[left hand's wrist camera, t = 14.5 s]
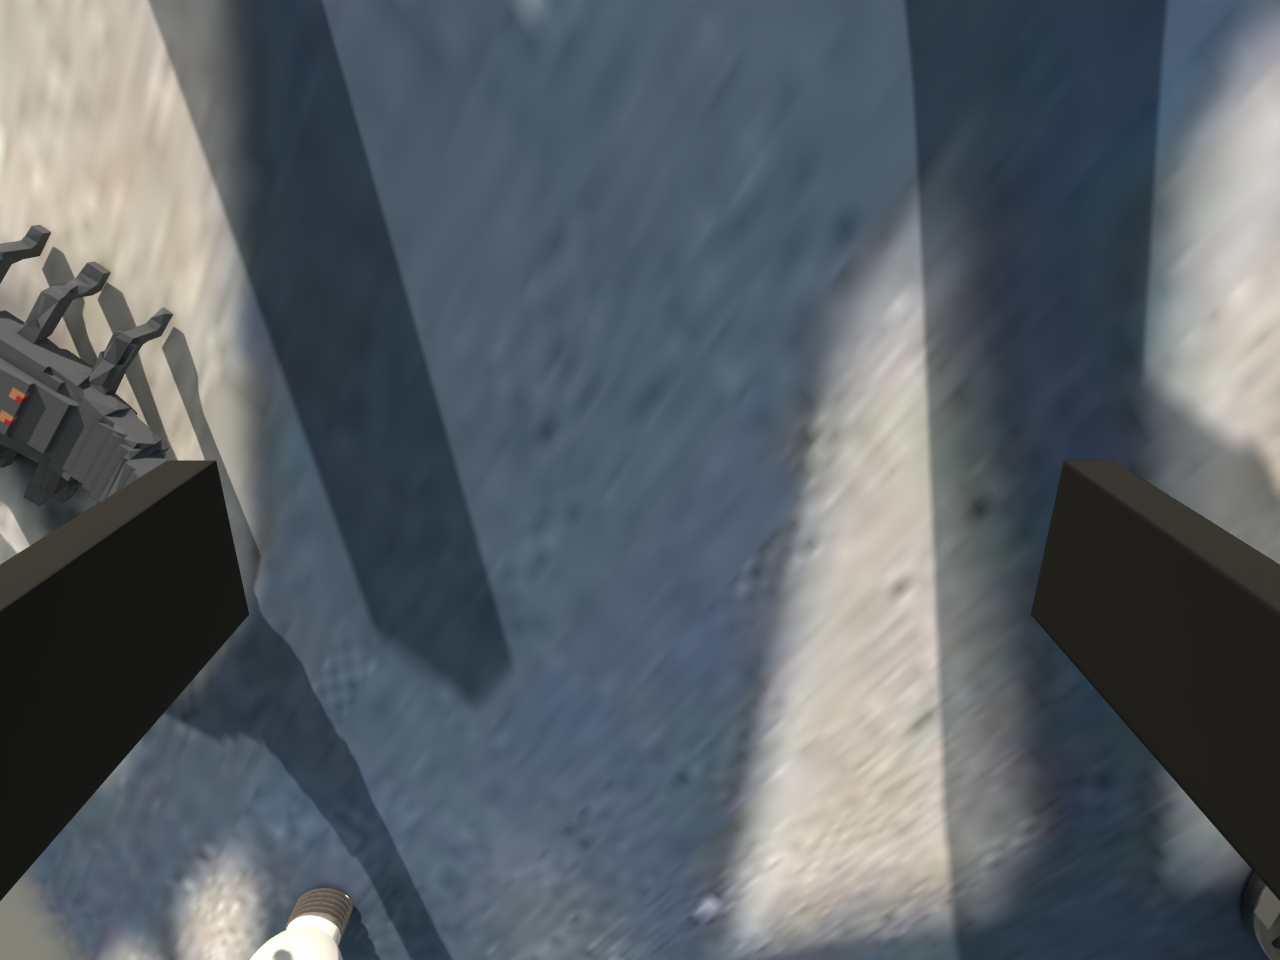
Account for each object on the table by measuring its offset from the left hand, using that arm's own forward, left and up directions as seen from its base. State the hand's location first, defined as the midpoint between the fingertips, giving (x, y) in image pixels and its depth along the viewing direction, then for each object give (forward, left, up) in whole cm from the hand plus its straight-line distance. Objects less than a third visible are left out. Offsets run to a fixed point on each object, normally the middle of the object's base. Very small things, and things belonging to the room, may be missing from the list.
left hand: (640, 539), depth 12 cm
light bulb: (+50, +2, -31) cm, 59 cm away
